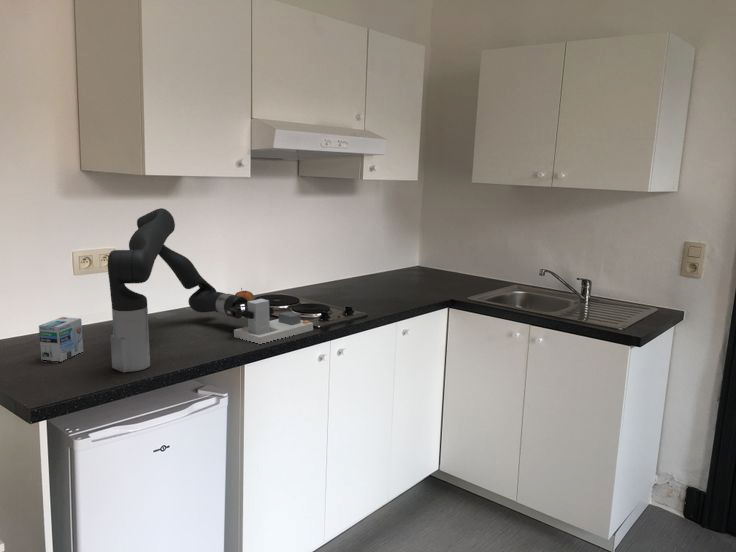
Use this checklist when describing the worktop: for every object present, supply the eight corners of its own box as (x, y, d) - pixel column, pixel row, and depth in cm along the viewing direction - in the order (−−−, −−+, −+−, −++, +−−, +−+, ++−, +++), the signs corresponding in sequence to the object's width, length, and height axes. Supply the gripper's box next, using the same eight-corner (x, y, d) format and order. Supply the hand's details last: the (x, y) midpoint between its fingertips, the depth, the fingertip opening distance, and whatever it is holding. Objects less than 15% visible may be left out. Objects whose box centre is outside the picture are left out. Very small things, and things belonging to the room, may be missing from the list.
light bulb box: (61, 363, 177) (58, 326, 175) (40, 361, 178) (37, 325, 176) (84, 352, 187) (82, 317, 185) (64, 350, 189) (61, 316, 187)
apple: (244, 311, 240) (243, 291, 239) (230, 308, 244) (230, 288, 243) (257, 307, 246) (257, 288, 245) (244, 305, 250) (243, 285, 249)
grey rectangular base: (260, 344, 198) (259, 328, 197) (234, 337, 206) (233, 320, 205) (313, 330, 216) (313, 314, 215) (287, 323, 224) (287, 308, 223)
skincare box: (261, 332, 210) (261, 298, 207) (270, 335, 207) (269, 300, 205) (247, 336, 205) (246, 301, 203) (256, 339, 202) (255, 303, 200)
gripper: (214, 298, 207) (246, 306, 197) (248, 291, 218) (279, 298, 208) (215, 319, 209) (246, 328, 199) (248, 312, 220) (279, 320, 209)
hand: (263, 313), depth 203 cm, fingers open, 8 cm apart
